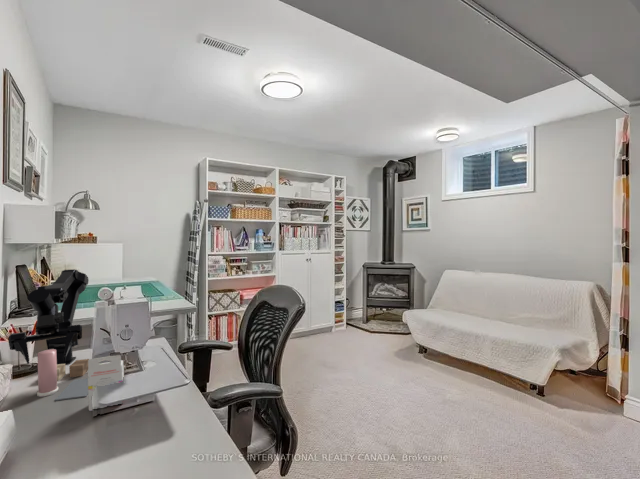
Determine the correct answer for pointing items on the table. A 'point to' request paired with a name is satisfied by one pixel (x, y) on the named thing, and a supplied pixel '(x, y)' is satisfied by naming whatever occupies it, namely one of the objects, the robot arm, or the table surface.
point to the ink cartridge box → (103, 373)
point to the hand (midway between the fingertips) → (47, 359)
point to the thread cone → (47, 373)
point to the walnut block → (78, 368)
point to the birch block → (60, 371)
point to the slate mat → (75, 390)
